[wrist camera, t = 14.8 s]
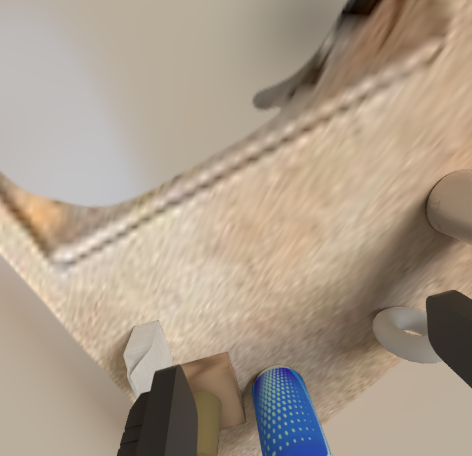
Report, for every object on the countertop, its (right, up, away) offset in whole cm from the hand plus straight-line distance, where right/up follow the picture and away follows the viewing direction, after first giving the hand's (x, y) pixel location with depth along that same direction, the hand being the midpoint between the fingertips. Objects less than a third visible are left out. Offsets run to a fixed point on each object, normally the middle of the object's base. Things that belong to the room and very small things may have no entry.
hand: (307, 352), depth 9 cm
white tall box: (-14, -13, +34) cm, 40 cm away
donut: (+22, -9, +37) cm, 44 cm away
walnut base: (-7, -21, +37) cm, 43 cm away
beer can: (+4, -21, +39) cm, 44 cm away
